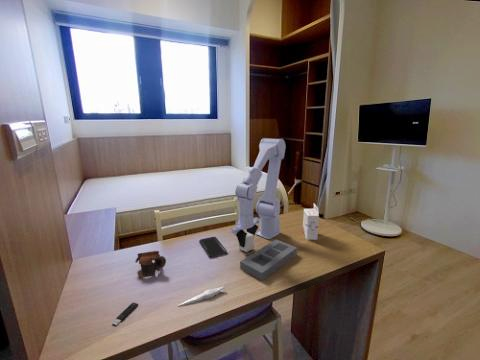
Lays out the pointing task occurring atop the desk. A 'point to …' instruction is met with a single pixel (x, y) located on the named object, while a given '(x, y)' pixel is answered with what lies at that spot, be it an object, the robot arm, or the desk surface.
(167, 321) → the desk surface
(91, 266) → the desk surface
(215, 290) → the white tapered rod
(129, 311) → the usb flash drive
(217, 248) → the phone
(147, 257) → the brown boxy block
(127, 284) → the desk surface
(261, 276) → the power strip
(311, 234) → the ink cartridge box
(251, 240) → the plug
